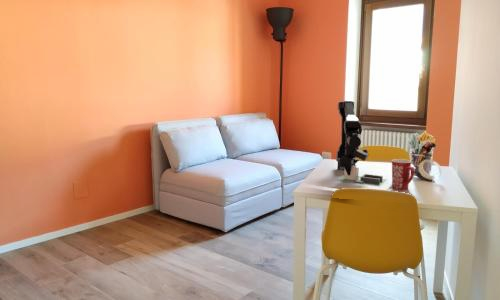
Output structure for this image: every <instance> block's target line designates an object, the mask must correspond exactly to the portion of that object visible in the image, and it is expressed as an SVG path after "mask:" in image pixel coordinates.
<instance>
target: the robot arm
mask: <svg viewBox="0 0 500 300" xmlns="http://www.w3.org/2000/svg"><path fill="white" fill-rule="evenodd" d="M337 110H338V114H339V116H340V118H341V121H340V122H341V123H340V124H341V127H340V129H341V130H340V135H341V136H340V144H339V146H338V147H337V151H336V155H335V160H336V162H337V167H336V168H337V170H341V171H344V170H343V169H340V167H345V170H346V172H347V174H348V175H350V173H351V168H352V165H356V164H357V163H358V162H359V161H360V160H361V161H363V162H365V161H366V160H367V159H368V156H369V150H368V149H366V148H364V149H363V150H362V149H359V147H360V146H361V145H362V140H361V138H360V137H359V135H362V132H363V128H362V124H361V121H360V120H359V118H358V117H357V116H356V115H355V102H354V101H353V100H352V99H350V100H349V99H346V100H343V101H341V100H340V101H339V102H338V103H337Z"/></svg>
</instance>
